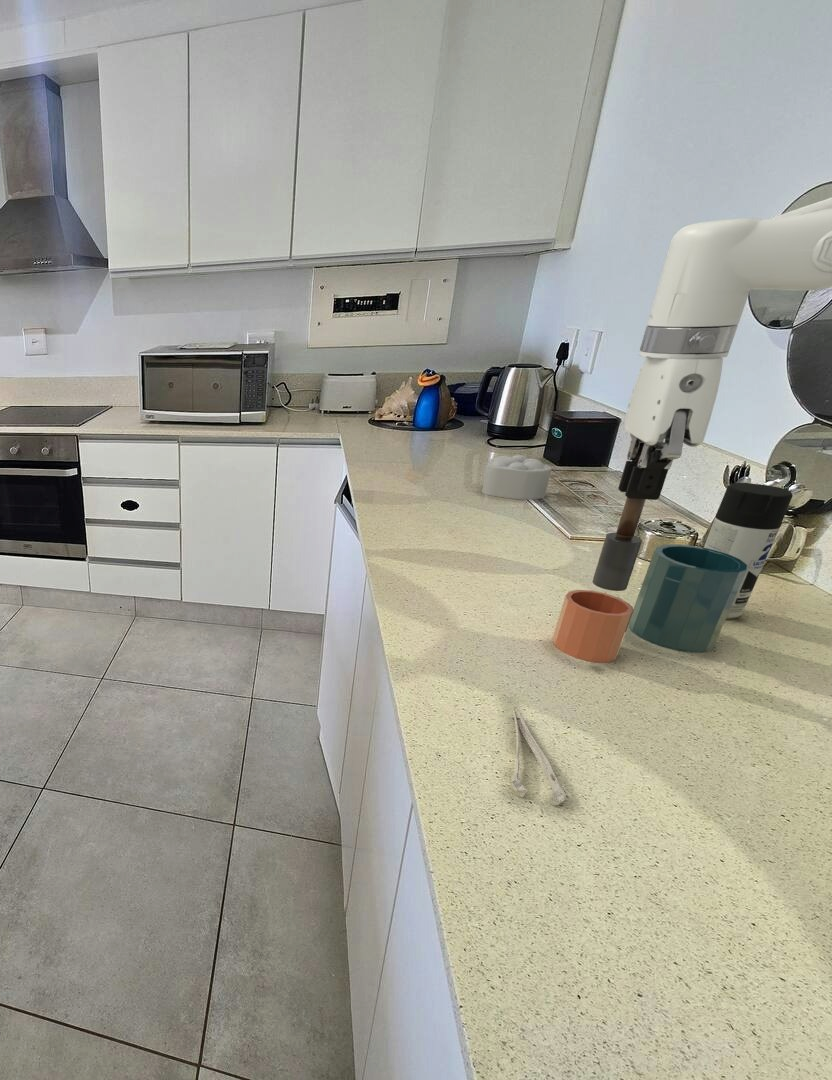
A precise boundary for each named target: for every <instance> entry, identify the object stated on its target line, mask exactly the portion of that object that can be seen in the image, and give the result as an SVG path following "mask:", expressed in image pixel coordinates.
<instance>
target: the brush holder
mask: <svg viewBox="0 0 832 1080" xmlns="http://www.w3.org/2000/svg"><path fill="white" fill-rule="evenodd" d="M633 611H634V607H633V606H632V605H631V604H630V602H627V601H625V600H624V599H622V598H620V597H617V596H616V595H612V594H609V593H605V592H601V591H596V590H589V589H575V590H570V591H568V592H567V593H566V594H565V596H564V598H563V602H562V606H561V609H560V613H559V614H558V615H559V616H558V618H557V622H556V626H555V630H554V632H553V635H552V639H551V640H552V643H553V645H554V646H555V648H557V649H558V650H559V651H560V652H562V653H564V654H566V655H568V656H570V657H573V658H575V659H577V660H581V661H585V662H591V663H596V664H597V663H598V664H603V663H605V664H606V663H611V662H613V661H615V660H616V659H617V657H618V655H619V653H620V650H621V647H622V644H623V641H624V639H625V636H626V634H627V633H626V632H627V630H628V629H629V627H628V625H629V622H630V619H631V616H632V614H633Z"/></svg>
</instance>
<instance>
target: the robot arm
mask: <svg viewBox="0 0 832 1080" xmlns="http://www.w3.org/2000/svg"><path fill="white" fill-rule="evenodd" d="M829 288H832V197H828V198H826V199H823V200H820V201H817V202H814V203H811V204H808V205H804V206H802V207H799V208H796V209H794V210H790V211H788V212H787V211H786V212H784V213H781V214H778V215H776V216H773V217H770V218H767V219H764V218H763V219H762V218H758V217H744V218H730V219H720V220H719V219H718V220H710V221H702V222H701V221H700V222H696V223H695V222H694V223H691V224H688V225H686V226H683V227H681V228H680V229H678V231H677V232H675V234H674V235H673V237H672V238H671V240H670V244H669V246H668V249H667V254H666V257H665V260H664V264H663V267H662V270H661V274H660V277H659V281H658V285H657V288H656V291H655V295H654V298H653V302H652V305H651V309H650V313H649V316H648V319H647V323H646V327H645V331H644V332H643V333H644V334H643V337H642V341H641V344H640V347H639V351H638V356H640V357H643V358H644V359H643V362H642V364H641V368H640V369H639V373H638V375H637V378H636V380H635V383H634V386H633V389H632V392H631V395H630V399H629V402H628V405H627V409H626V413H625V418H624V422H623V426H624V429H625V430H626V432H627V433H629V435H630V438H631V440H630V444H629V448H628V452H627V455H626V461H625V464H624V468H623V471H622V474H621V478H620V481H619V484H618V487H617V488H618V489H617V490H619V492H621V493H624V496H625V497H626V499H627V498H632V499H646V500H648V501H649V500H650V501H657V500H658V499H660V497H661V494H662V492H663V491H662V490H663V488H664V484H665V482H666V479H667V475H668V472H669V470H670V469H671V467H672V464H673V461H674V460H677V459H680V458H681V457H682V454H683V446H684V445H686V446H688V447H691V448H692V447H693V448H696V447H698V446H700V445H702V444H703V442H704V440H705V438H706V434H707V431H708V427H709V425H710V421H711V417H712V414H713V411H714V407H715V403H716V399H717V395H718V391H719V387H720V382H721V376H722V372H723V371H722V370H723V363H724V362H723V361H724V359H723V358H727V357H728V355H729V352H730V350H731V348H732V343H733V341H734V338H735V335H736V332H737V329H738V326H739V323H740V321H741V319H742V315H743V312H744V309H745V306H746V303H747V301H748V297H749V294H750V292H751V290H756V291H770V290H771V291H773V290H774V291H776V290H777V291H789V292H792V291H793V292H796V291H797V292H801V291H802V292H807V291H808V292H809V291H818V290H819V291H820V290H825V289H829ZM651 452H652V454H651ZM639 457H640V459H639ZM638 460H639V462H638ZM637 463H638V466H637Z"/></svg>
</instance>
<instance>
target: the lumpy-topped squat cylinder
mask: <svg viewBox="0 0 832 1080" xmlns="http://www.w3.org/2000/svg"><path fill="white" fill-rule="evenodd" d="M552 471H553V469H552V467H551V466H549V465H548V464H544V463H543V462H542V461H541V460H540V459H537V458H528V457H526V456H524V455H522V454H515V455H513V456H508V455H498V456H496V457H493V458H489V460H488V463H487V465H486V470H485V475H484V480H483V484H482V488H481V493H482V494H483V495H484V494H485V495H487V496H492V497H496V498H497V497H498V498H504V499H512V500H523V501H525V500H530V501H531V500H539V499H540V500H541V499H544V498H545V497H546V494H547V490H548V485H549V481H550V477H551V474H552Z"/></svg>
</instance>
